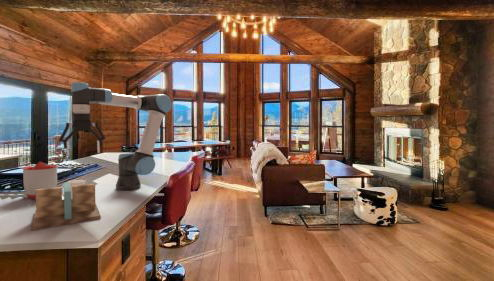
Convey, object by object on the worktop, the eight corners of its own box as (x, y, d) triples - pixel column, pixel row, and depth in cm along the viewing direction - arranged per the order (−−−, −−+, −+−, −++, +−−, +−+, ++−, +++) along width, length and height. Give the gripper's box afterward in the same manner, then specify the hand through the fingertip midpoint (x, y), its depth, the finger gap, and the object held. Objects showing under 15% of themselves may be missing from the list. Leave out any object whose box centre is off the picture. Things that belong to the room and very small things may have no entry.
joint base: (95, 204, 136) (94, 179, 135) (100, 218, 117) (100, 189, 116) (36, 212, 122) (35, 184, 121) (31, 230, 103) (30, 196, 102)
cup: (83, 200, 143) (83, 182, 142) (57, 202, 139) (57, 183, 138) (87, 196, 151) (87, 179, 150) (63, 198, 147) (62, 180, 146)
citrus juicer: (52, 190, 161) (52, 158, 160) (61, 196, 150) (61, 161, 149) (19, 195, 149) (18, 161, 148) (27, 202, 138) (25, 164, 137)
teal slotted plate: (70, 206, 128) (69, 182, 127) (71, 218, 112) (71, 191, 111) (64, 207, 127) (63, 182, 126) (64, 219, 110) (64, 191, 110)
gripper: (51, 112, 123) (54, 157, 125) (109, 113, 138) (111, 152, 140) (51, 112, 129) (54, 155, 131) (107, 113, 144) (109, 151, 146)
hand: (83, 154), depth 136 cm, fingers open, 13 cm apart
